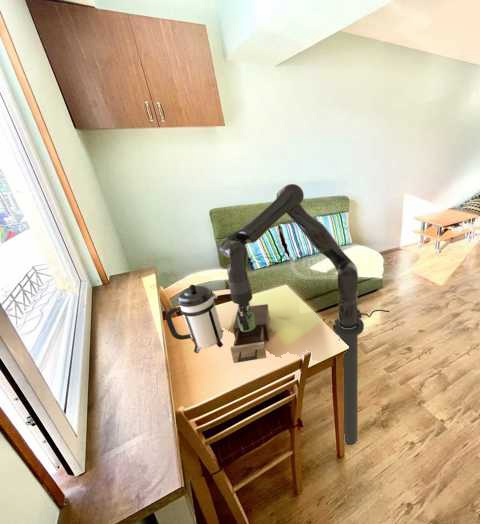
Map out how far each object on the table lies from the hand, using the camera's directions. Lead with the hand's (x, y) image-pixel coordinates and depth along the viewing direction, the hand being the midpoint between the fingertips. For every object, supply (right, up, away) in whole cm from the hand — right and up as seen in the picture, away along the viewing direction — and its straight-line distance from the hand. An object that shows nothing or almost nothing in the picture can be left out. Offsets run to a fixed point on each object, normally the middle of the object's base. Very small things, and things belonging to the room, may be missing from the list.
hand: (247, 324), depth 114 cm
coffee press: (-22, -11, +9) cm, 26 cm away
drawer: (+1, -12, +3) cm, 13 cm away
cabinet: (-3, -7, +17) cm, 19 cm away
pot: (0, -1, 0) cm, 1 cm away
